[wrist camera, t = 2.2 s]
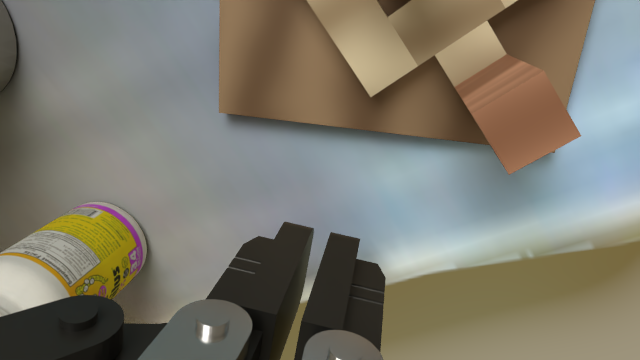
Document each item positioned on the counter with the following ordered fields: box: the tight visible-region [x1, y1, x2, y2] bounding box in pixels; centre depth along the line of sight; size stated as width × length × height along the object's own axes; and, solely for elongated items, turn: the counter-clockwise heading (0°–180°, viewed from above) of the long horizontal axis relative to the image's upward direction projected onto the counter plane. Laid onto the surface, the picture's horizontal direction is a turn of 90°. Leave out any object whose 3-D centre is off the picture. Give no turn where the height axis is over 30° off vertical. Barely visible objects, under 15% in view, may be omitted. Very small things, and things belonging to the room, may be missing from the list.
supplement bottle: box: [0, 202, 147, 317], centre depth 30 cm, size 7×7×13 cm
